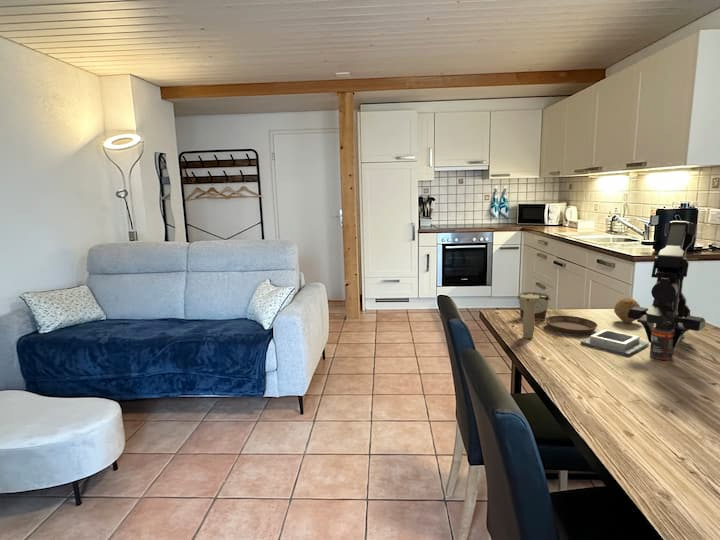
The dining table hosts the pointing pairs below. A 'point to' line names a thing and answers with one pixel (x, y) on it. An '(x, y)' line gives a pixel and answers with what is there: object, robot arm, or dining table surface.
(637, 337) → the grey square tray
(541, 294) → the food container
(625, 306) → the natural sponge
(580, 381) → the dining table surface
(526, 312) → the handle
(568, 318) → the plant saucer
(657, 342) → the supplement bottle
